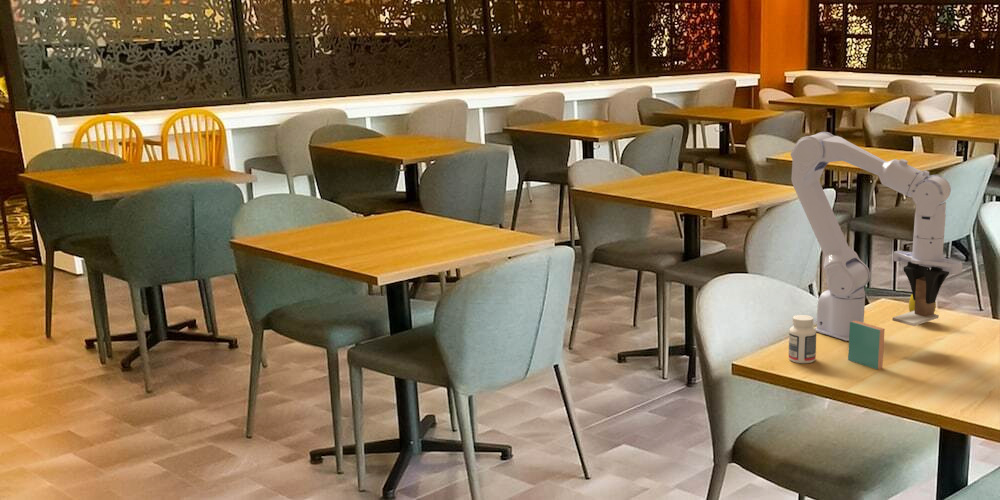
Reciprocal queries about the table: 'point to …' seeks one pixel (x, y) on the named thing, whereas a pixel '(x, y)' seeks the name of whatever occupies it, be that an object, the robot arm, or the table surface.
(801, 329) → the pill bottle
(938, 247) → the robot arm
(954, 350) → the table surface
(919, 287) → the brown grey l-shaped block
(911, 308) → the lemon
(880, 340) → the tile
